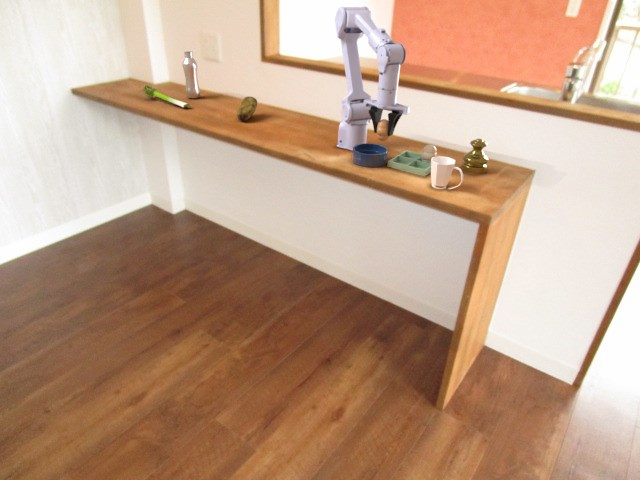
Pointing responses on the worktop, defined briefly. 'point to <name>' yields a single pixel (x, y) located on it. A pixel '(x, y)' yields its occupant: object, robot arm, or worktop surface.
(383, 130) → the brown egg
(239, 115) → the potato
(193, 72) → the plastic bottle
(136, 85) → the worktop surface
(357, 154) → the bowl
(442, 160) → the cup
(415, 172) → the tray
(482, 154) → the gold decorative ornament
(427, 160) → the cream egg
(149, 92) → the leek
